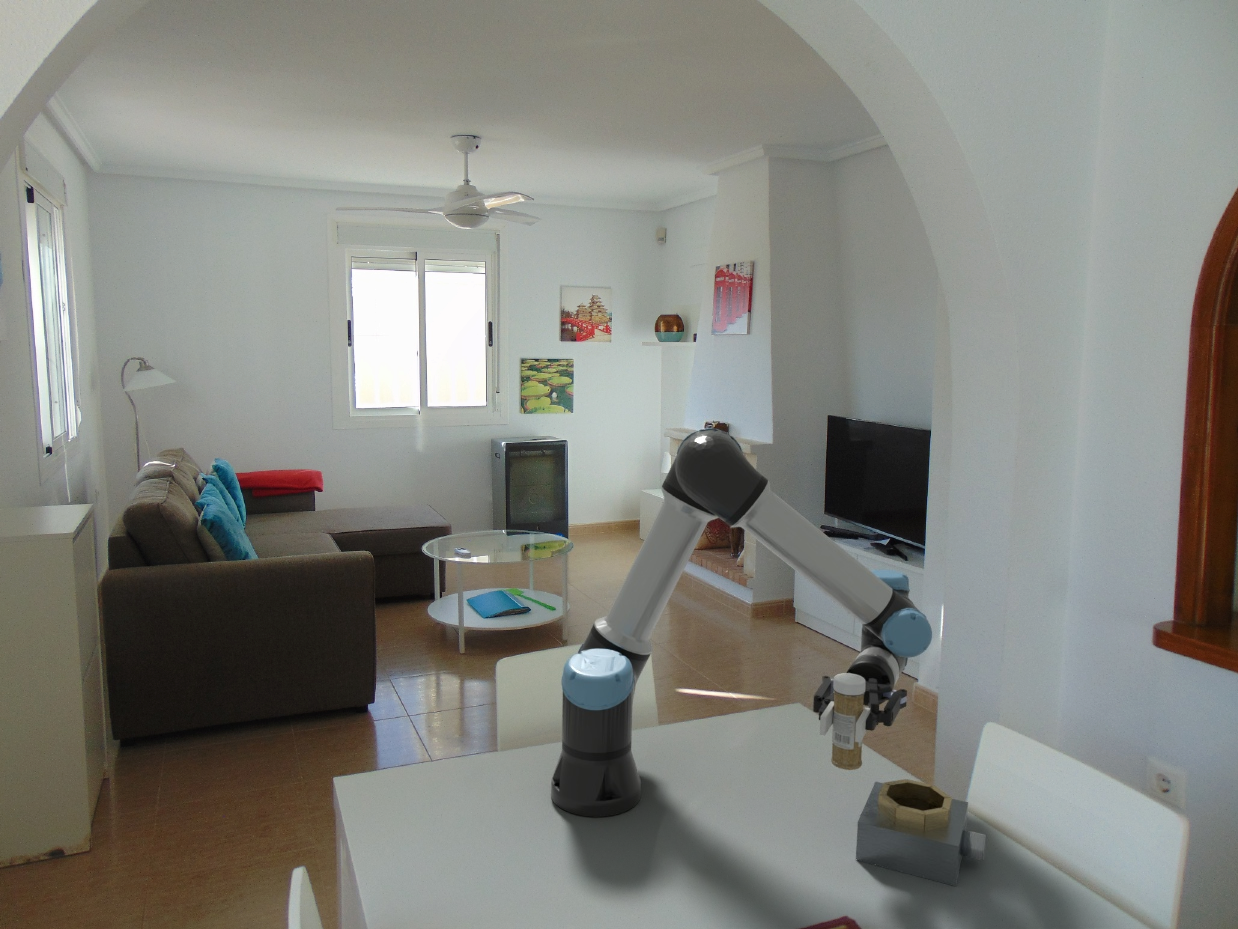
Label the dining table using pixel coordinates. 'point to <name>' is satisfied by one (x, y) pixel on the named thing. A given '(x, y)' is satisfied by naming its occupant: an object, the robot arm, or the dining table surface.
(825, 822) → the dining table surface
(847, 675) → the sprinkles bottle
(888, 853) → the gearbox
